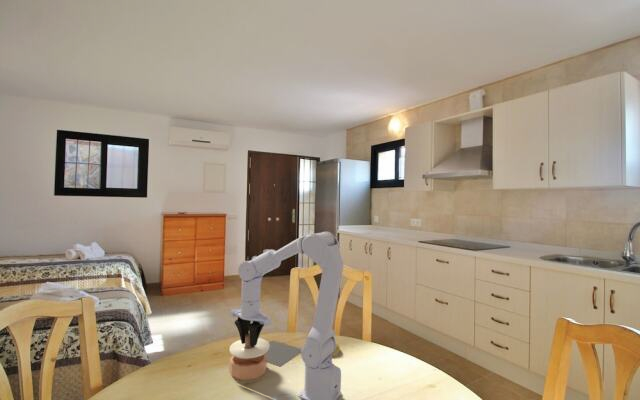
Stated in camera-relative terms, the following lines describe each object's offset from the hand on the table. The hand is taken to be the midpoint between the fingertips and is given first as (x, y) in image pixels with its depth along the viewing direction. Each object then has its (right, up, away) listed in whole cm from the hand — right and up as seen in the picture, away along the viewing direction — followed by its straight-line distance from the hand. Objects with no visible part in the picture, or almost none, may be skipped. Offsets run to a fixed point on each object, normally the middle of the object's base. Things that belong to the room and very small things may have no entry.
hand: (249, 344), depth 100 cm
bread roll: (+24, -10, +15) cm, 30 cm away
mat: (+7, -9, +12) cm, 16 cm away
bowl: (0, -8, 0) cm, 8 cm away
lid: (0, -2, 0) cm, 2 cm away
